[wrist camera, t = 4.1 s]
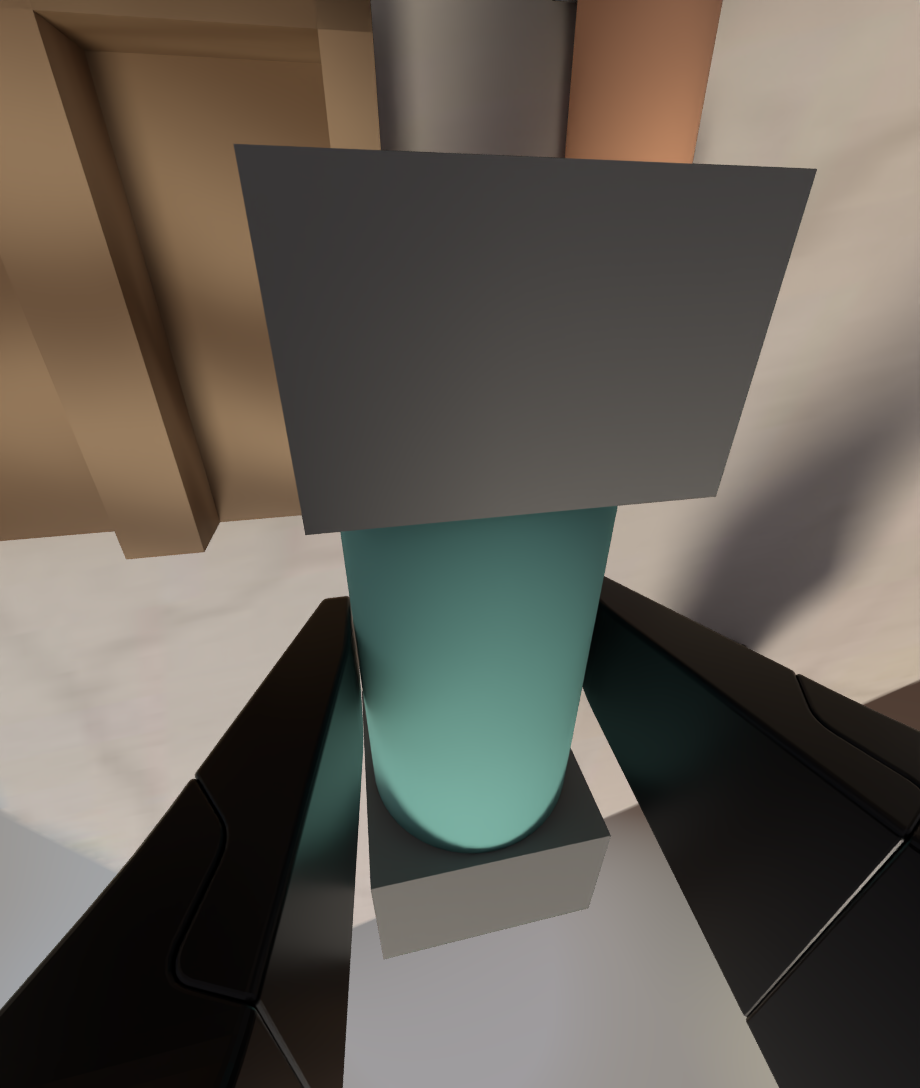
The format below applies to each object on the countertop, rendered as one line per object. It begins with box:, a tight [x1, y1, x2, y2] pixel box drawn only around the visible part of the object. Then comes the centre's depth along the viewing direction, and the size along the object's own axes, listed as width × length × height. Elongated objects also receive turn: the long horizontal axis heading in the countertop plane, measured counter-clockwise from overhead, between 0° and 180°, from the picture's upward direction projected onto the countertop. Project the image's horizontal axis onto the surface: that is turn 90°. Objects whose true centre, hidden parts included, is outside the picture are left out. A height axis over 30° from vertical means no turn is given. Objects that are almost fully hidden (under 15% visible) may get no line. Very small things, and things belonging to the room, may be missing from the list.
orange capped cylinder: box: [554, 0, 723, 164], centre depth 13 cm, size 11×4×4 cm, turn 0°
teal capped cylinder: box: [233, 144, 817, 959], centre depth 7 cm, size 11×4×4 cm, turn 0°
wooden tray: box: [0, 0, 381, 559], centre depth 14 cm, size 14×16×3 cm
